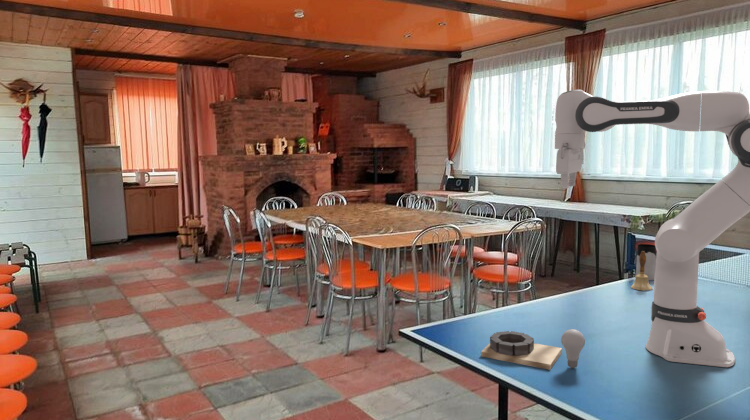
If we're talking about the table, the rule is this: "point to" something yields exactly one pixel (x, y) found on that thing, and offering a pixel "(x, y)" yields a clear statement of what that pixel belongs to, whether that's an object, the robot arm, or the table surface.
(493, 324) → the table surface
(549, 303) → the table surface
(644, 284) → the hand bell
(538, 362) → the socket board
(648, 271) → the glass holder
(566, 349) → the lightbulb
